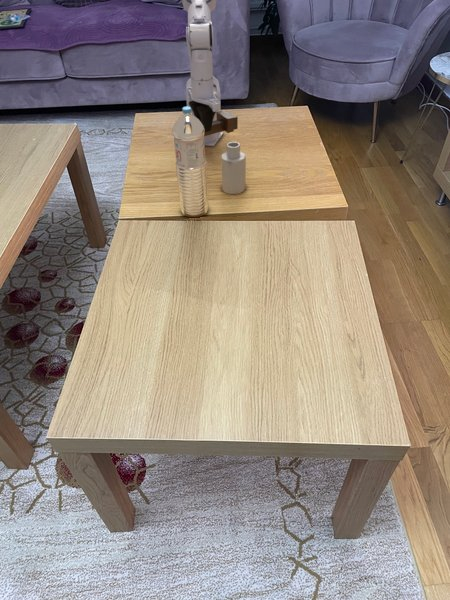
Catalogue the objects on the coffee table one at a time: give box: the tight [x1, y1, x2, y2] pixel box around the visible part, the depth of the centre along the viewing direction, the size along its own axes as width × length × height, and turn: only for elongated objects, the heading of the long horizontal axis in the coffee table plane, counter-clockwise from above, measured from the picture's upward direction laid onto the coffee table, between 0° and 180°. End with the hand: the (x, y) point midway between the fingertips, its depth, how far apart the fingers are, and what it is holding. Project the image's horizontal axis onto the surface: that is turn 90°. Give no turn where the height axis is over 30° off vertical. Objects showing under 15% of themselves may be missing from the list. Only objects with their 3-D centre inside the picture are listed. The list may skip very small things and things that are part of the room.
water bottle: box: [172, 105, 209, 218], centre depth 102 cm, size 7×7×25 cm
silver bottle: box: [220, 141, 247, 195], centre depth 114 cm, size 6×6×12 cm
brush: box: [204, 110, 239, 136], centre depth 125 cm, size 6×12×4 cm, turn 122°
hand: (204, 129), depth 124 cm, fingers closed on brush, 2 cm apart
